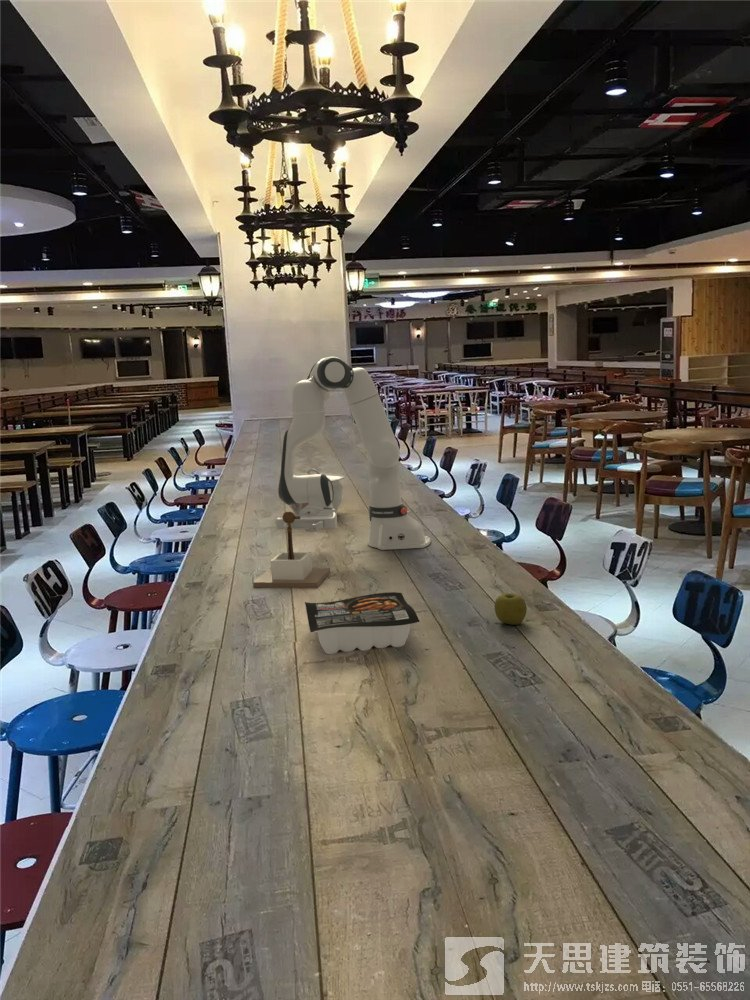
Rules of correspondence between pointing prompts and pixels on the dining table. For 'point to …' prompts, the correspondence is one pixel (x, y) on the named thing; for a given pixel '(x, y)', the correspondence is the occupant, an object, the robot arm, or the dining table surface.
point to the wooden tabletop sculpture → (290, 531)
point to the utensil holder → (292, 572)
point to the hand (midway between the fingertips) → (300, 527)
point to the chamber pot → (337, 489)
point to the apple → (510, 608)
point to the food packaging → (362, 622)
